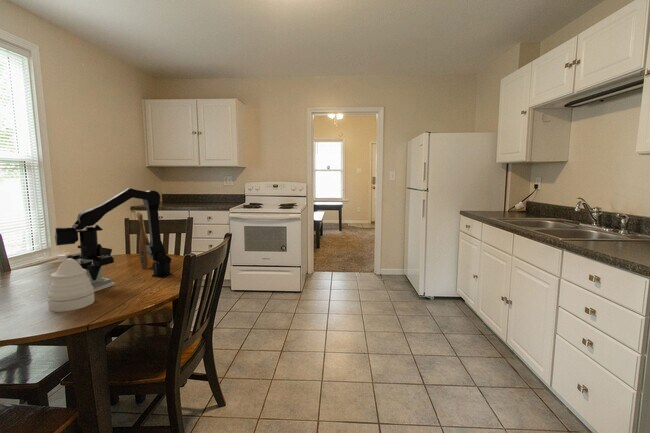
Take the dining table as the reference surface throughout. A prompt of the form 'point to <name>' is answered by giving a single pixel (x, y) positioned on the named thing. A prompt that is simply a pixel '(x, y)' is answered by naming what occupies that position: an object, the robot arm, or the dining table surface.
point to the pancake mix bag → (143, 245)
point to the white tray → (102, 284)
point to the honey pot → (69, 287)
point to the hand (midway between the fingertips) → (91, 279)
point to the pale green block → (99, 277)
